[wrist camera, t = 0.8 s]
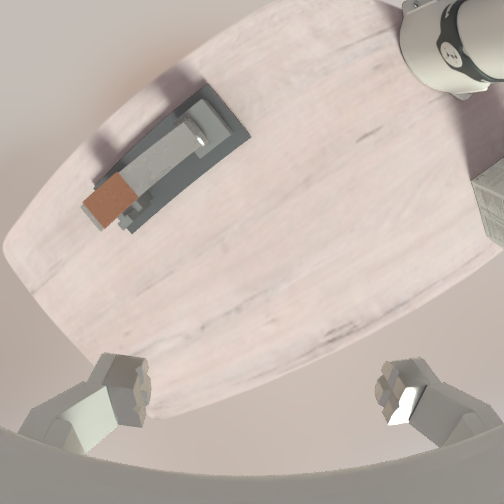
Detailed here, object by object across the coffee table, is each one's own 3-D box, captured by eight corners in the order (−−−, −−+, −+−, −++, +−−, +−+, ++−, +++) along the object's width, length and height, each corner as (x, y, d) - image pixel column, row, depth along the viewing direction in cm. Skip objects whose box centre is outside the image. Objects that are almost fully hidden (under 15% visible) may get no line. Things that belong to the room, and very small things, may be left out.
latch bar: (186, 118, 37) (191, 111, 35) (208, 144, 38) (214, 139, 36) (79, 205, 32) (77, 203, 30) (103, 234, 33) (103, 234, 31)
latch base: (208, 84, 41) (196, 77, 32) (251, 136, 44) (249, 141, 36) (95, 186, 47) (68, 202, 39) (134, 231, 50) (112, 255, 42)
